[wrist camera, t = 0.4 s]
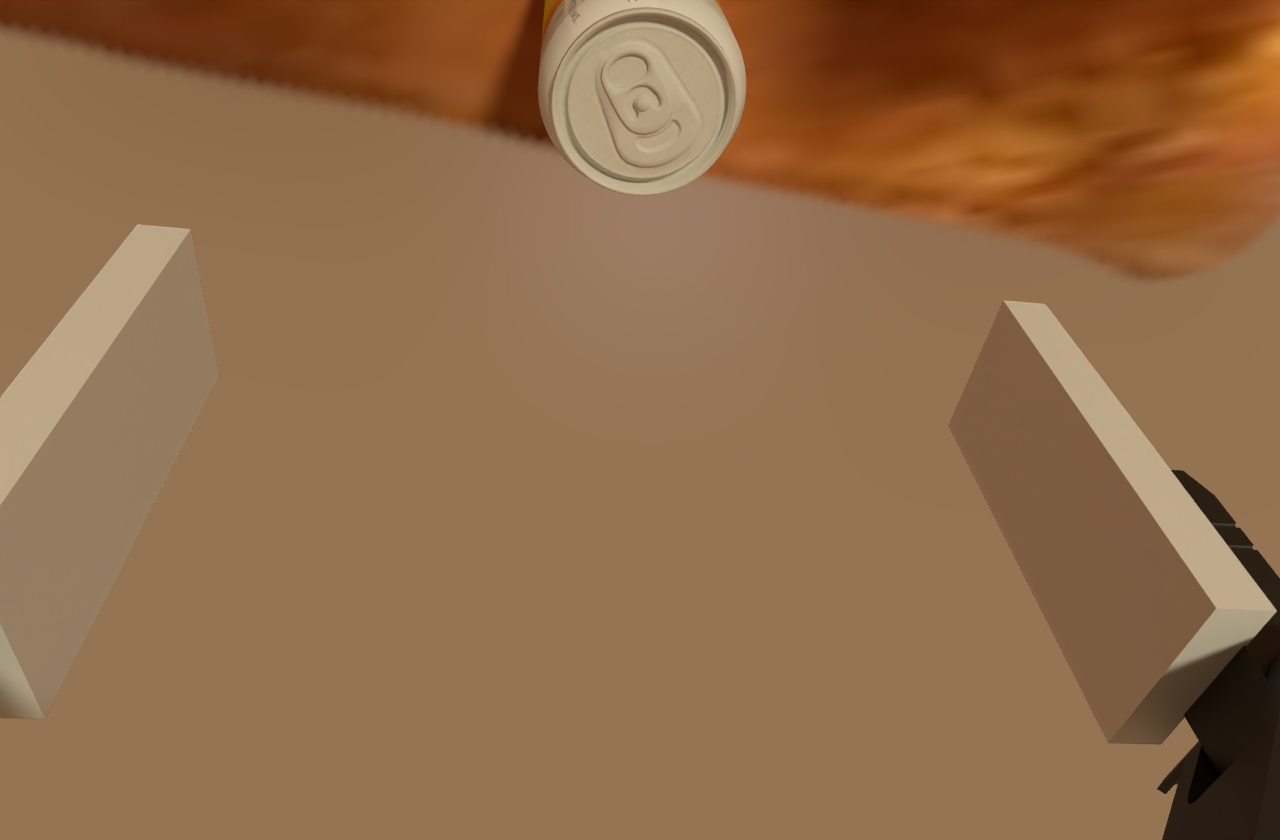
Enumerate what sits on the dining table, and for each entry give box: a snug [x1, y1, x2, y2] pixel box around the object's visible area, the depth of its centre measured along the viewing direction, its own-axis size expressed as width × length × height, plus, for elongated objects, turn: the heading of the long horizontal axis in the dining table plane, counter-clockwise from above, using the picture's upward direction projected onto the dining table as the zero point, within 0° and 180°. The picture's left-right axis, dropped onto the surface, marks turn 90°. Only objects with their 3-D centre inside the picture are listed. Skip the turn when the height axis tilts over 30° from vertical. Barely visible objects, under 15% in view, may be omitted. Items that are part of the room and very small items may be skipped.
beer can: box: [538, 0, 746, 196], centre depth 32 cm, size 6×6×15 cm
